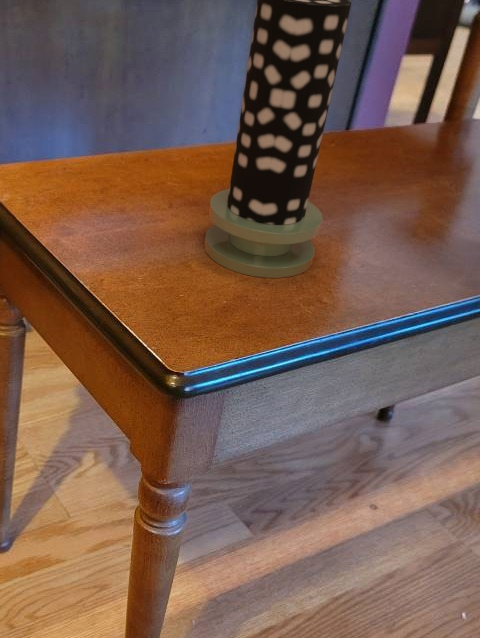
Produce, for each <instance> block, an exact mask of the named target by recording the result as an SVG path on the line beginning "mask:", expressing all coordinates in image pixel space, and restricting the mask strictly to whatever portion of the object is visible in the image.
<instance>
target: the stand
mask: <svg viewBox="0 0 480 638" xmlns="http://www.w3.org/2000/svg"><path fill="white" fill-rule="evenodd" d="M228 194H229V188H227V189H223V190H220V191H218V192H216V193H214V195H213V196H212V197H211V198H210V200H209V206H208V217H209V219H210V220H211V222H212V223H213V225H211V226H209V228H208V229H207V230H206V232H205V236H204V244H203V245H204V251H205V253H206V255H207V256H208V257H209V258H210V260H212V261H214V262H215V263H216V264H218V265H219V266H222V267H223V268H226V269H228V270H230V271H232V272H236V273H239V274H241V275H245V276H246V275H247V276H251V277H256V278H263V279H265V278H266V279H283V278H290V277H294V276H298V275H300V274H303V273H306V272H307V271H308V270H309V269H310V268H311V266H312V264H313V262H314V258H315V254H316V253H315V252H316V250H315V246H314V243H313V242H312V241H311V240H312V239H314V238H315V237H317V236H318V234H319V233H320V232H321V228H322V224H323V219H324V218H323V213H322V212H321V210H320V209H319V208H318V207H317V206H316V205H315V204H313V203H312V202H310V201H309V200H308V204H307V209H306V213H305V216H304V218H303V219H302V220H301V221H299V222H296V223H292V224H286V225H271V224H263V223H258V222H254V221H250V220H247V219H245V218H242V217H240V216H238V215H237V214H235V213H233V212H232V211H231V210H230V209H229V207H228V205H227V201H228Z"/></svg>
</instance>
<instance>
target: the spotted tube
mask: <svg viewBox="0 0 480 638" xmlns="http://www.w3.org/2000/svg"><path fill="white" fill-rule="evenodd" d="M351 8H352V1H351V0H257V1H256V8H255V14H254V21H253V27H252V34H251V42H250V49H249V55H248V62H247V68H246V74H245V81H244V89H243V95H242V102H241V107H240V114H239V115H240V116H239V121H238V122H239V123H238V127H237V135H236V140H235V141H236V142H235V148H234V155H233V161H232V168H231V175H230V180H229V181H230V182H229V188H228V189H229V194H228V201H227V205H228V207H229V209H230V210H231V211H232V212H233V213H235V214H237V215H238V216H240V217H242V218H245V219H247V220H250V221H254V222H258V223H263V224H271V225H286V224H292V223H296V222H299V221H301V220H302V219H303V218H304V216H305V213H306V209H307V204H308V201H309V199H310V194H311V190H312V185H313V181H314V176H315V172H316V167H317V163H318V157H319V153H320V148H321V145H322V139H323V135H324V131H325V125H326V122H327V118H328V117H327V116H328V111H329V108H330V103H331V99H332V93H333V91H334V90H333V89H334V85H335V81H336V75H337V71H338V67H339V61H340V58H341V53H342V49H343V44H344V38H345V35H346V30H347V25H348V20H349V16H350V12H351Z"/></svg>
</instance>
